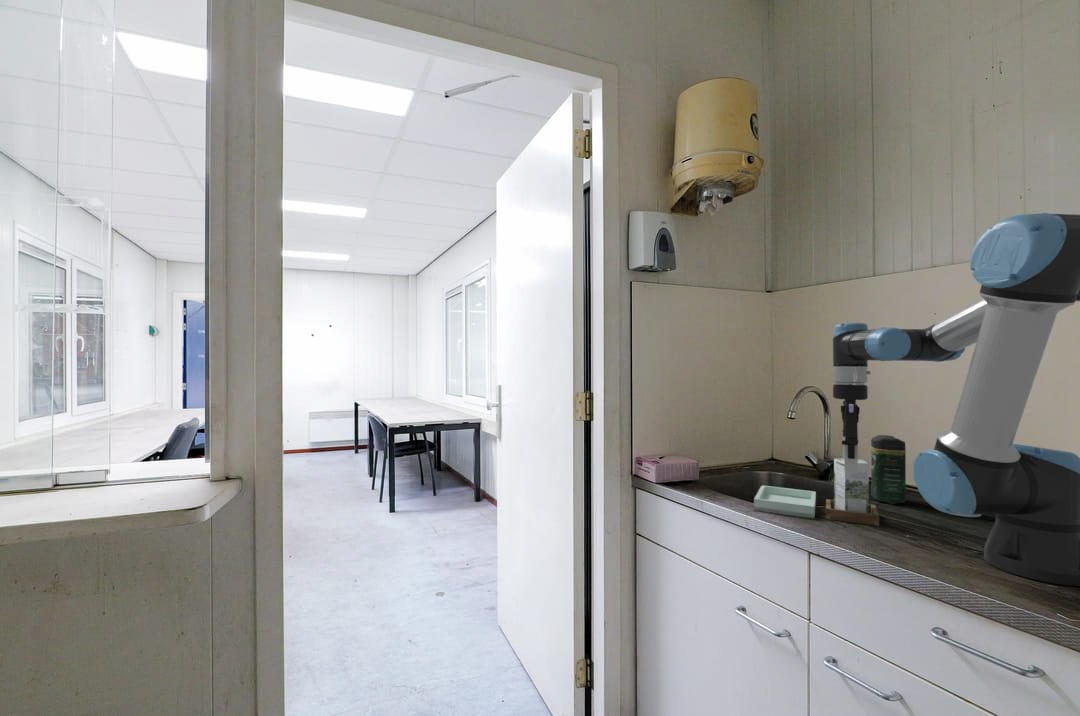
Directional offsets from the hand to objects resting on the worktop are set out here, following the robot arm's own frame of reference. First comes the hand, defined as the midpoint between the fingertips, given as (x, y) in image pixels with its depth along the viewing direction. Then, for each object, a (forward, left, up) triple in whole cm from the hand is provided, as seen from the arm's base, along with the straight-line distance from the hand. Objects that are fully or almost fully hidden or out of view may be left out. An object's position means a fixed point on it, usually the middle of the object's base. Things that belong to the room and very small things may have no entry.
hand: (849, 466), depth 126 cm
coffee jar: (+25, -10, -13) cm, 30 cm away
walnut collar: (0, 0, -13) cm, 13 cm away
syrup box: (0, 0, -13) cm, 13 cm away
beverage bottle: (+19, -25, -13) cm, 34 cm away
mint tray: (+2, +15, -13) cm, 19 cm away
